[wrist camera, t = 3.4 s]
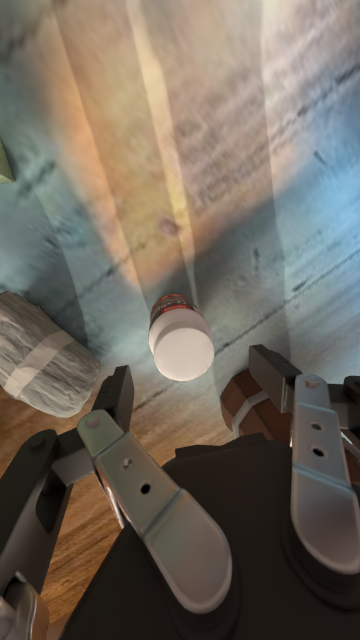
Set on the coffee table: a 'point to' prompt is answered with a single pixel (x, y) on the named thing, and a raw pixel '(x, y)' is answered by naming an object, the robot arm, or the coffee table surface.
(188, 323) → the pill bottle
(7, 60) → the coffee table surface
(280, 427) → the mug
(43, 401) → the decorative stone
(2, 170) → the green footstool with circle
